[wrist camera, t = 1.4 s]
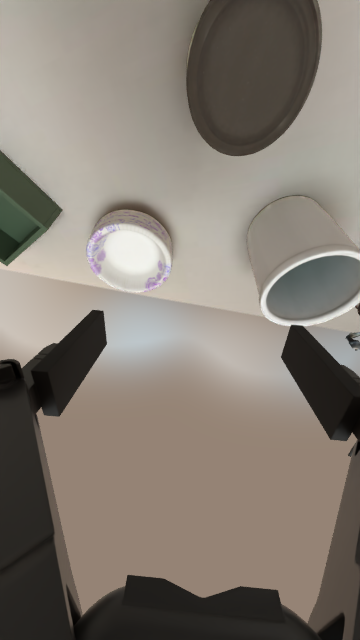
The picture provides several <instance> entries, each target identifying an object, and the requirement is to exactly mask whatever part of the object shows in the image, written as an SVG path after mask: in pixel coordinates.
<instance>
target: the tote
mask: <svg viewBox="0 0 360 640" xmlns="http://www.w3.org/2000/svg"><path fill="white" fill-rule="evenodd" d="M61 211H62V209H61V208H60V207H59V206H58V205H57V204H56V203H55V202H53V201H52V200H51V199H50V198H49V197H48V196H47V195H46V194H45V193H44V192H43V191H42V190H41V189H40V188H39V187H38V186H37V185H36V184H35V183H34V182H32V181H31V180H30V179H29V178H28V177H27V176H26V175H25V174H24V173H23V172H22V171H21V170H20V169H19V168H18V167H17V166H16V165H15V164H14V163H13V162H11V161H10V160H9V159H8V158H7V157H6V156H5V155H4V154H3V153H2V152H1V151H0V262H1V263H3V264H5V265H6V266H8V265H9V264H10V263H11V262H12V261H13V260H14V259H15V258H17V257H18V256H19V255H20V254H21V253H22V252H23V251H24V250H26V249H27V248H28V247H29V246H30V245H31V244H32V243H33V242H35V241H36V240H37V239H38V238H39V237H40V236H41V235H42V234H44V233H45V232H46V231H47V230H48V229H49V227H50V226H51V225H52V223H53V222H54V221H55V219H56V218H57V217H58V215H59V214H60V213H61Z"/></svg>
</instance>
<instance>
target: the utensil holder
mask: <svg viewBox="0 0 360 640" xmlns="http://www.w3.org/2000/svg"><path fill="white" fill-rule="evenodd" d="M247 246H248V251H249V256H250V261H251V265H252V269H253V273H254V277H255V281H256V285H257V289H258V293H259V304H260V308H261V311H262V313H263V314H264V316H265V317H266V318H267V319H269V320H270V321H272V322H274V323H276V324H279V325H284V326H291V325H302V326H309V325H315V324H318V323H322V322H325V321H328V320H331V319H333V318H336V317H338V316H340V315H342V314H344V313H346V312H347V311H349V310H350V309H352V308H353V307H355V306H356V305H357V304H359V303H360V249H358V247H357V246H356V245H355V244H354V243H353V241H352V240H351V239H350V238H349V237H348V236H347V235H346V234H345V232H344V231H343V230H342V229H341V228H340V227H339V226H338V224H337V223H336V222H335V221H334V220H333V219H332V218H331V216H330V215H329V214H328V213H327V212H326V211H325V210H324V209H323V208H322V207H321V206H320V205H319V204H318V203H317V202H316V201H314V200H312V199H310V198H308V197H304V196H289V197H285V198H281V199H279V200H276V201H274V202H272V203H271V204H269V205H268V206H266V207H265V208H264V209H263V210H262V211H261V212H260V213H259V214H258V215H257V216H256V217H255V218H254V220H253V221H252V223H251V225H250V227H249V230H248V234H247Z"/></svg>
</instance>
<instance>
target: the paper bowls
mask: <svg viewBox="0 0 360 640" xmlns="http://www.w3.org/2000/svg"><path fill="white" fill-rule="evenodd" d="M172 253H173V251H172V243H171V239H170V237H169V235H168V233H167V231H166V230H165V229H164V227H163V226H162V225H161V224H160V223H159V222H158V221H157V220H156V219H154V218H153V217H151V216H149V215H147V214H145V213H142V212H139V211H134V210H117V211H113V212H110V213H108V214H107V215H105V216H103V217H102V218H101V219H100V220H99V221H98V222H97V224H96V225H95V227H94V229H93V231H92V233H91V235H90V237H89V239H88V242H87V248H86V255H87V260H88V263H89V265H90V267H91V269H92V270H93V272H94V273H95V274H96V275H97V276H98V277H99V278H100V279H101V280H102V281H103V282H105V283H106V284H108V285H109V286H111V287H113V288H116V289H118V290H121V291H125V292H134V293H139V292H147V291H150V290H153V289H155V288H157V287H159V286H160V285H161V284H163V283H164V282H165V281H166V279H167V278H168V276H169V274H170V272H171V268H172Z"/></svg>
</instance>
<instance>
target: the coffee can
mask: <svg viewBox="0 0 360 640" xmlns="http://www.w3.org/2000/svg"><path fill="white" fill-rule="evenodd" d="M321 43H322V23H321V15H320V9H319V4H318V1H317V0H210V1H209V3H208V5H207V6H206V8H205V10H204V12H203V14H202V16H201V18H200V20H199V22H198V23H197V26H196V28H195V30H194V33H193V36H192V39H191V42H190V46H189V50H188V57H187V78H186V84H187V97H188V103H189V108H190V112H191V116H192V119H193V122H194V124H195V126H196V128H197V130H198V132H199V133H200V135H201V136H202V138H203V139H204V140H205V141H206V142H207V143H208V144H209V145H210V146H211V147H212V148H214V149H215V150H217V151H219V152H220V153H223V154H226V155H230V156H244V155H249V154H253V153H256V152H258V151H260V150H262V149H264V148H266V147H267V146H269V145H271V144H272V143H273V142H274V141H276V140H277V139H278V138H279V137H280V136H281V135H282V134H283V133H284V132H285V131H286V130H287V129H288V128H289V126H290V125H291V124H292V123H293V121H294V120H295V118H296V117H297V115H298V114H299V112H300V111H301V109H302V107H303V105H304V103H305V101H306V99H307V97H308V95H309V93H310V90H311V88H312V85H313V82H314V79H315V76H316V72H317V69H318V64H319V59H320V52H321Z"/></svg>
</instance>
